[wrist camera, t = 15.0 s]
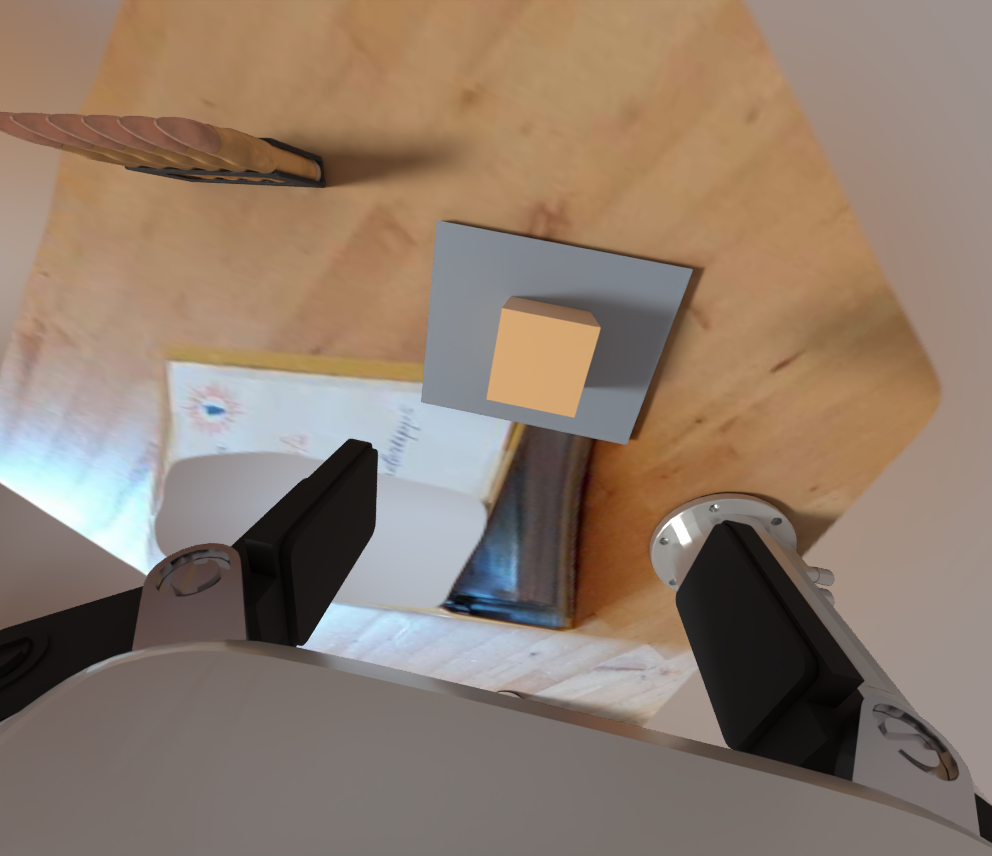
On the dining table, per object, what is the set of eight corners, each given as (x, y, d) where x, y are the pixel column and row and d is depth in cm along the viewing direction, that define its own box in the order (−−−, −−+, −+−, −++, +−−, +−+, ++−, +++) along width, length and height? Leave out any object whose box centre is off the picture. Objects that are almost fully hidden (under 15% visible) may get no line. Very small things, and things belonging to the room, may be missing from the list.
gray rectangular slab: (688, 268, 26) (713, 272, 22) (624, 439, 33) (635, 466, 29) (440, 221, 27) (421, 216, 23) (424, 397, 33) (407, 418, 29)
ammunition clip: (322, 156, 26) (168, 95, 16) (326, 187, 27) (182, 149, 16) (182, 151, 27) (-55, 89, 16) (190, 181, 28) (-31, 141, 17)
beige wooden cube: (590, 311, 28) (600, 327, 22) (569, 387, 30) (574, 417, 25) (510, 296, 28) (502, 308, 22) (496, 372, 30) (486, 399, 25)
